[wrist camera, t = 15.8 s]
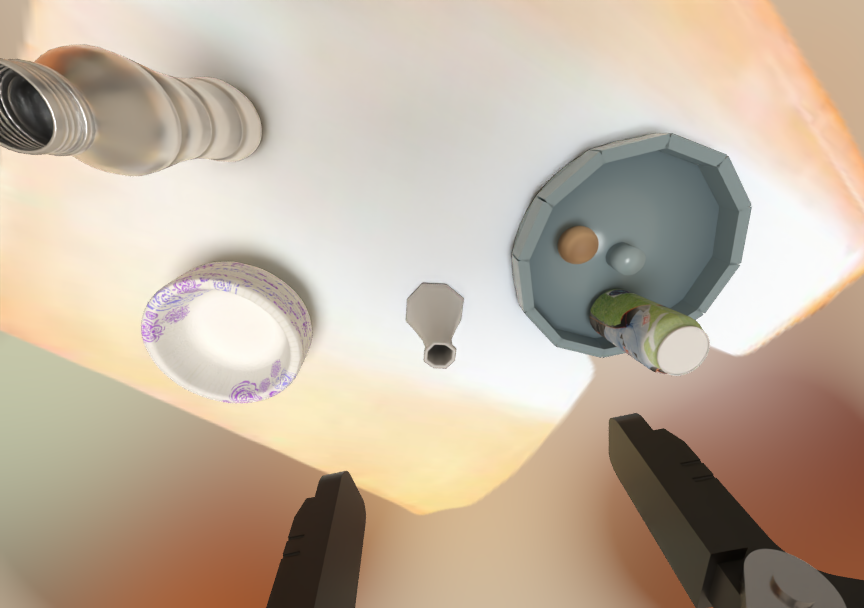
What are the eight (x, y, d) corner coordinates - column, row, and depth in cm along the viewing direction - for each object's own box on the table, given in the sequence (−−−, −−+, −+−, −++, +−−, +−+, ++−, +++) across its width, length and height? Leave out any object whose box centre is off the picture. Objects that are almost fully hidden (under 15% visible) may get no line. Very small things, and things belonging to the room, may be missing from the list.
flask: (473, 294, 41) (490, 337, 32) (448, 341, 44) (457, 393, 35) (418, 272, 40) (419, 312, 31) (396, 323, 43) (391, 373, 34)
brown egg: (550, 226, 37) (565, 236, 33) (587, 218, 37) (606, 226, 33) (553, 260, 39) (567, 273, 35) (588, 252, 39) (606, 264, 35)
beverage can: (578, 327, 43) (633, 392, 32) (597, 273, 40) (665, 324, 29) (625, 331, 44) (694, 395, 33) (647, 278, 40) (732, 330, 30)
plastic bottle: (210, 63, 30) (-90, -42, 12) (282, 116, 32) (115, 91, 14) (184, 129, 32) (-104, 122, 14) (253, 174, 34) (76, 218, 16)
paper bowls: (275, 382, 46) (250, 428, 39) (163, 316, 41) (110, 354, 34) (345, 307, 41) (331, 343, 34) (229, 222, 36) (184, 243, 29)
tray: (498, 170, 35) (506, 173, 32) (737, 110, 34) (770, 108, 31) (523, 356, 46) (531, 372, 43) (705, 317, 44) (727, 330, 41)
